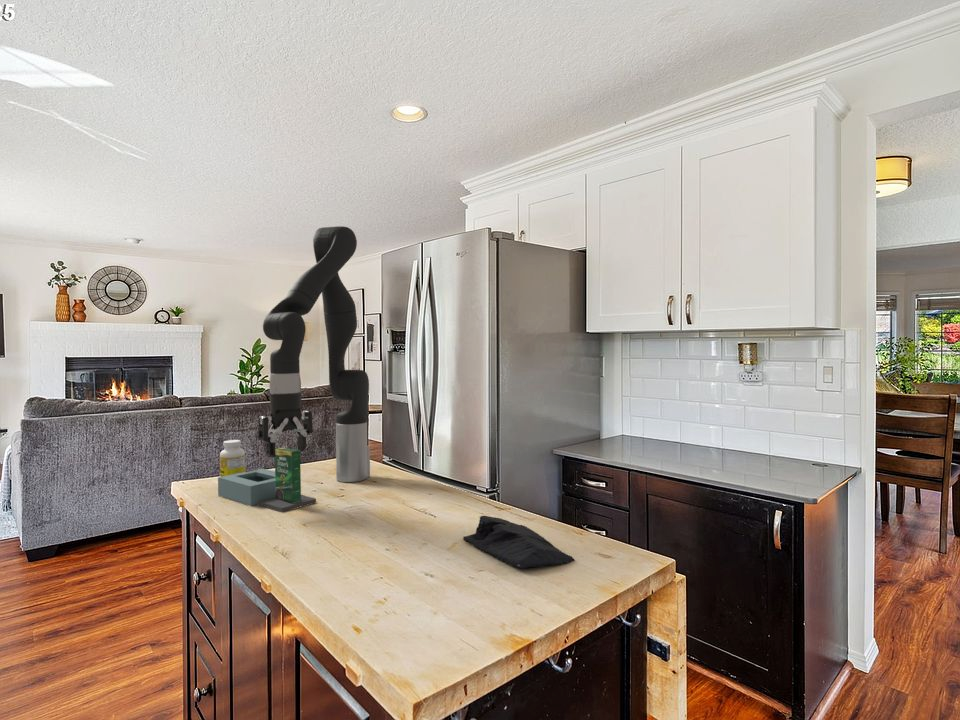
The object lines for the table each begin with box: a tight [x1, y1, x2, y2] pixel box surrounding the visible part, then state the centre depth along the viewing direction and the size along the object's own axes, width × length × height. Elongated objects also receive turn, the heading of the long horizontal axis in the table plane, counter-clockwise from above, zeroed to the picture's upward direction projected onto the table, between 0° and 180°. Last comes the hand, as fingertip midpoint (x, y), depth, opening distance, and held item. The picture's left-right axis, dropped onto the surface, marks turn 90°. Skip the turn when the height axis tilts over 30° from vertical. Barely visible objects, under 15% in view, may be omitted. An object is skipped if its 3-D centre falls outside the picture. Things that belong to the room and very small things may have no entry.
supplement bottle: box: [219, 439, 246, 477], centre depth 156 cm, size 7×7×13 cm
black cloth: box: [462, 515, 575, 569], centre depth 106 cm, size 15×22×5 cm
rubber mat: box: [257, 494, 317, 513], centre depth 137 cm, size 10×10×1 cm
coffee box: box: [274, 447, 302, 503], centre depth 137 cm, size 8×3×13 cm, turn 51°
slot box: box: [217, 468, 276, 507], centre depth 145 cm, size 13×16×5 cm
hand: (286, 453), depth 137 cm, fingers open, 8 cm apart
